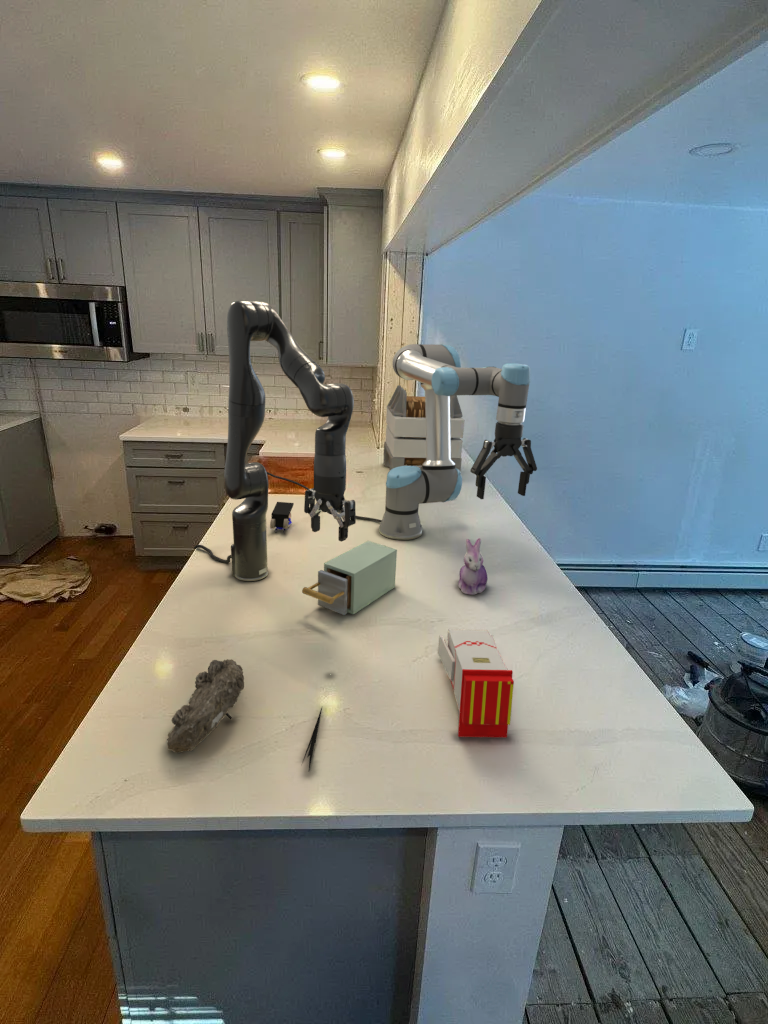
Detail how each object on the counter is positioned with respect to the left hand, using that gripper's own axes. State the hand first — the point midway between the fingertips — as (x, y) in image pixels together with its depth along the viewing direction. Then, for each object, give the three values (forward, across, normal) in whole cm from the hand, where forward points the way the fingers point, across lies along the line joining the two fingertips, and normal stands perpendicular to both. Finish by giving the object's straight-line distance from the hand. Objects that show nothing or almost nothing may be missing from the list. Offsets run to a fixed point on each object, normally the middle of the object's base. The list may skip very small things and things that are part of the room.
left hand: (329, 535), depth 137 cm
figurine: (+22, +21, +39) cm, 49 cm away
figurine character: (+22, -53, +35) cm, 67 cm away
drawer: (+21, -1, +8) cm, 23 cm away
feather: (+22, +24, -30) cm, 44 cm away
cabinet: (+22, -1, +15) cm, 27 cm away
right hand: (-3, +22, +49) cm, 54 cm away
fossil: (+22, +8, -42) cm, 48 cm away
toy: (+22, +43, -4) cm, 48 cm away
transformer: (+23, -56, +130) cm, 143 cm away
